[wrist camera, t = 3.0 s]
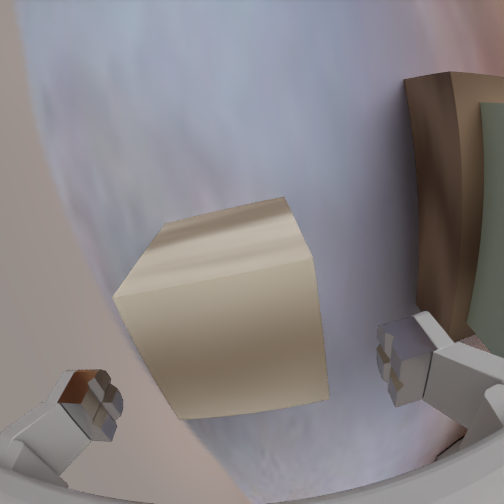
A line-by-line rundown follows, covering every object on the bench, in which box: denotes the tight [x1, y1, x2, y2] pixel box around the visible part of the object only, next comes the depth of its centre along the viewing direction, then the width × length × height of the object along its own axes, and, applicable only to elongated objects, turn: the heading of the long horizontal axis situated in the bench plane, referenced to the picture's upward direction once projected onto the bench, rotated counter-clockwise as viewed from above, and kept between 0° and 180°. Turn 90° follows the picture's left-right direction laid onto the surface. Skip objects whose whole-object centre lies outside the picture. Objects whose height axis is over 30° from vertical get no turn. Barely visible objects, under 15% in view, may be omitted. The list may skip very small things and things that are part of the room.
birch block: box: [112, 197, 329, 420], centre depth 11 cm, size 5×5×6 cm
